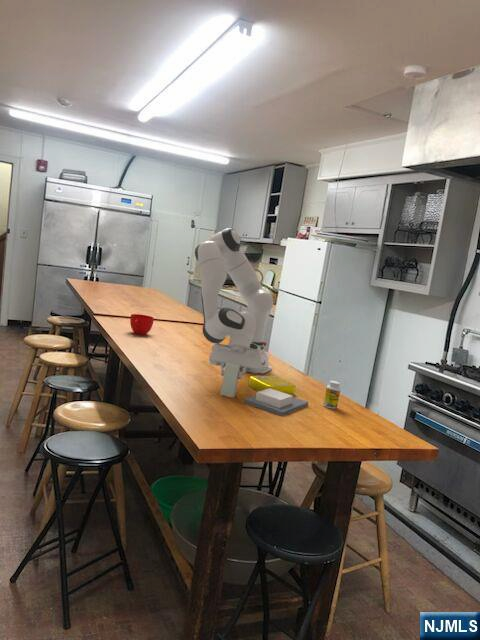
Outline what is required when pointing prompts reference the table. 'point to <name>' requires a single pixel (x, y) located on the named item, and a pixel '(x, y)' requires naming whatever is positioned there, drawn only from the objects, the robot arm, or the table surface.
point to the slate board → (277, 410)
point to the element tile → (272, 384)
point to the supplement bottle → (332, 395)
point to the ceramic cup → (141, 323)
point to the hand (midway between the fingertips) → (230, 376)
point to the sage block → (230, 379)
